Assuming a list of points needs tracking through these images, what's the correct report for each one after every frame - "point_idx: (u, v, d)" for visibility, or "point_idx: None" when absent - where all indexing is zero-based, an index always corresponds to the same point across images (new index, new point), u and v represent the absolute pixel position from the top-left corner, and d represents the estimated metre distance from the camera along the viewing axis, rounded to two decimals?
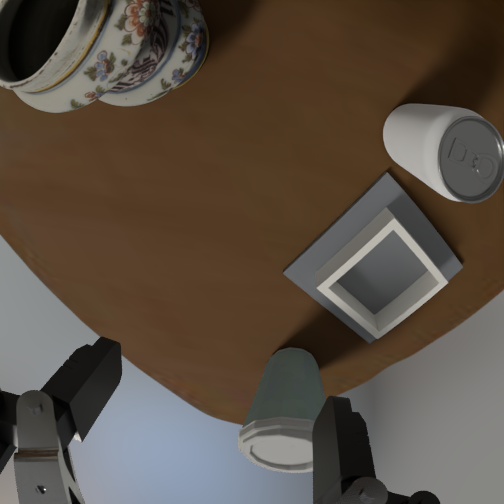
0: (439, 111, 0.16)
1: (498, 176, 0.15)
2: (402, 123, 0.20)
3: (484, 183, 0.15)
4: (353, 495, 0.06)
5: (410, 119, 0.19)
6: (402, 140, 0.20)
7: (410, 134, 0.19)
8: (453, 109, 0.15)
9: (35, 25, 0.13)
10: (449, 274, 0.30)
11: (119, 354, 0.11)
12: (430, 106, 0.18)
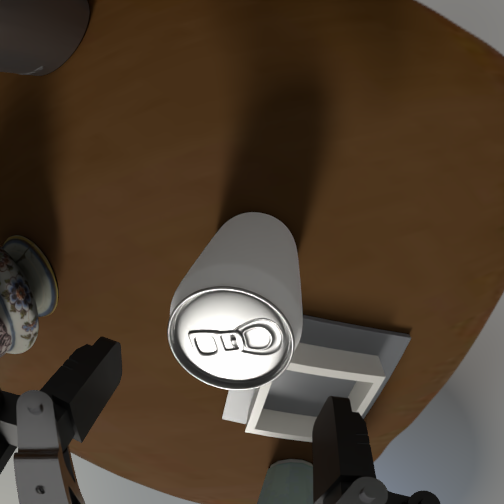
0: None
1: (288, 334, 0.13)
2: None
3: (269, 354, 0.13)
4: (353, 495, 0.06)
5: None
6: None
7: None
8: (180, 285, 0.14)
9: None
10: (397, 353, 0.26)
11: (119, 354, 0.11)
12: (198, 258, 0.17)
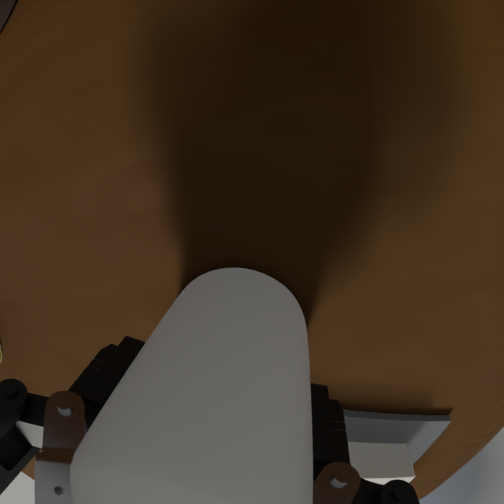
0: None
1: None
2: None
3: None
4: (325, 482, 0.06)
5: None
6: None
7: None
8: None
9: None
10: (430, 438, 0.16)
11: None
12: (120, 380, 0.08)
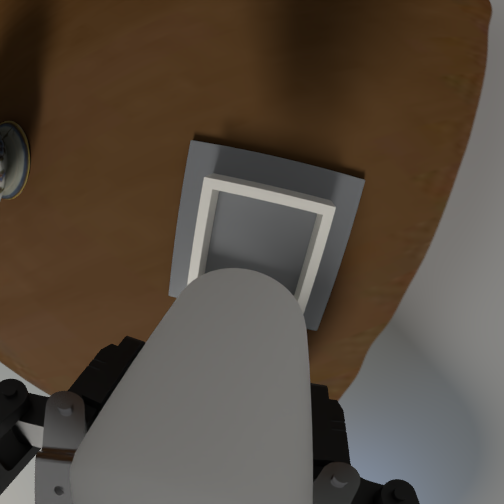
0: None
1: None
2: None
3: None
4: (324, 481, 0.06)
5: None
6: None
7: None
8: None
9: None
10: (352, 199, 0.25)
11: None
12: None
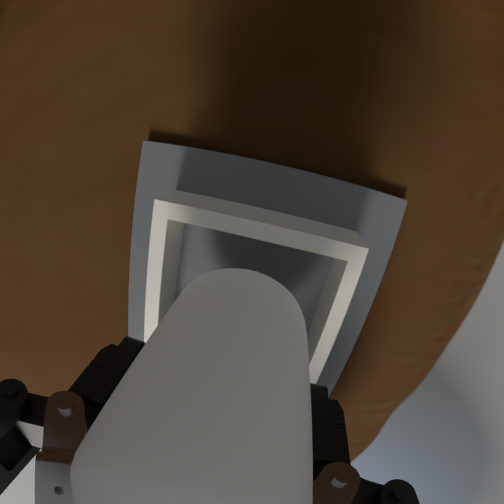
0: None
1: None
2: None
3: None
4: (324, 481, 0.06)
5: None
6: None
7: None
8: None
9: None
10: (388, 229, 0.16)
11: None
12: None
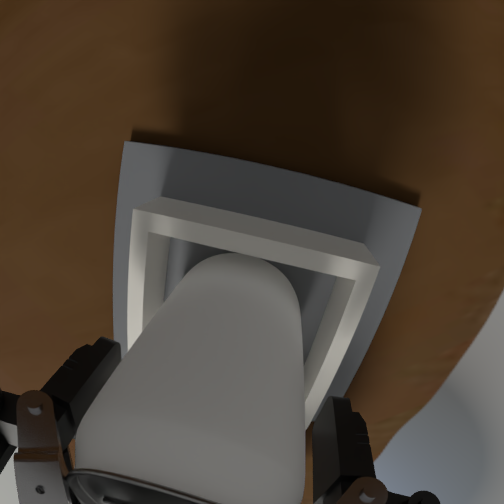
0: None
1: None
2: None
3: None
4: (353, 495, 0.06)
5: None
6: None
7: None
8: (80, 425, 0.06)
9: None
10: (400, 241, 0.14)
11: (119, 354, 0.11)
12: (129, 349, 0.09)
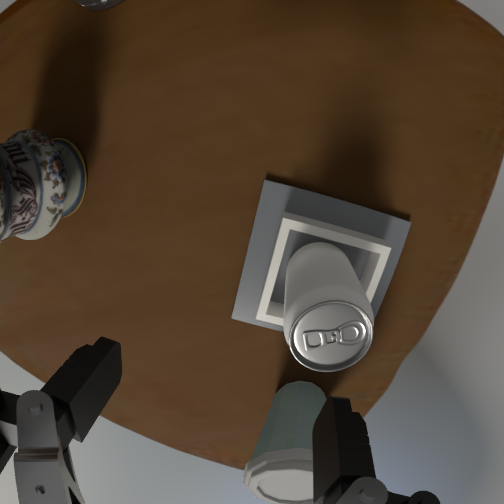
0: (289, 303, 0.21)
1: (369, 330, 0.19)
2: None
3: (355, 345, 0.20)
4: (353, 495, 0.06)
5: None
6: None
7: None
8: (296, 300, 0.20)
9: None
10: (400, 238, 0.29)
11: (119, 354, 0.11)
12: (294, 279, 0.24)
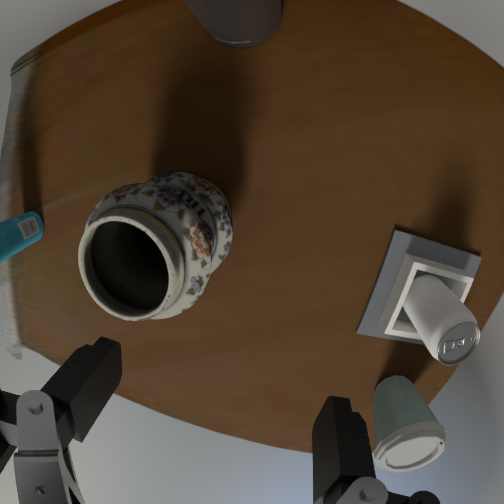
0: (433, 324, 0.28)
1: (477, 337, 0.26)
2: (414, 317, 0.33)
3: (469, 346, 0.26)
4: (353, 495, 0.06)
5: (418, 319, 0.32)
6: (417, 330, 0.32)
7: (420, 333, 0.31)
8: (441, 322, 0.27)
9: (104, 255, 0.27)
10: (474, 268, 0.35)
11: (119, 354, 0.11)
12: (427, 306, 0.31)
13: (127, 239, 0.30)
